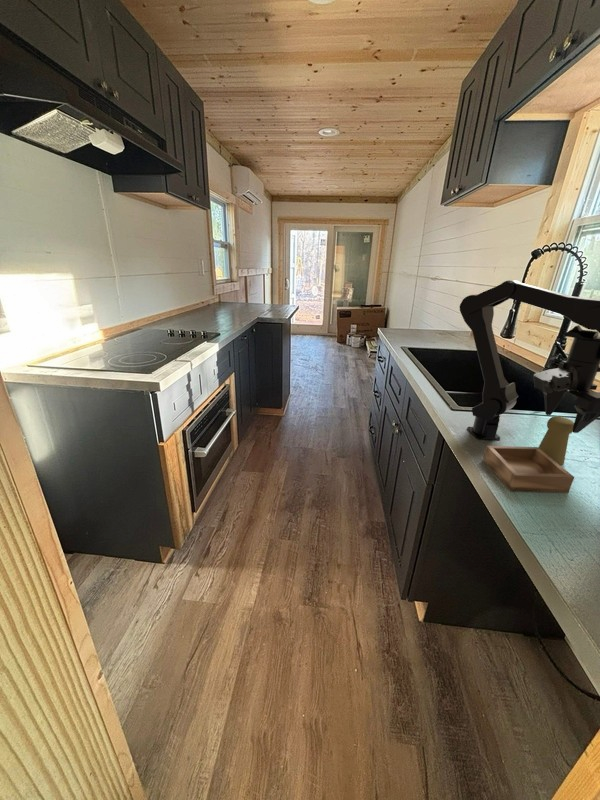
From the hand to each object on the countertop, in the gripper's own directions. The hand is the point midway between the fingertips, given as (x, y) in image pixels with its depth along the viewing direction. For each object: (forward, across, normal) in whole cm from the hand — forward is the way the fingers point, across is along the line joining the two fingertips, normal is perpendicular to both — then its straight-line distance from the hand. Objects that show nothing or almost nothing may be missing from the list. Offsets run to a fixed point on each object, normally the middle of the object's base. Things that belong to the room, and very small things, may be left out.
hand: (560, 423), depth 78 cm
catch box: (+10, +8, -11) cm, 16 cm away
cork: (+10, 0, 0) cm, 10 cm away
